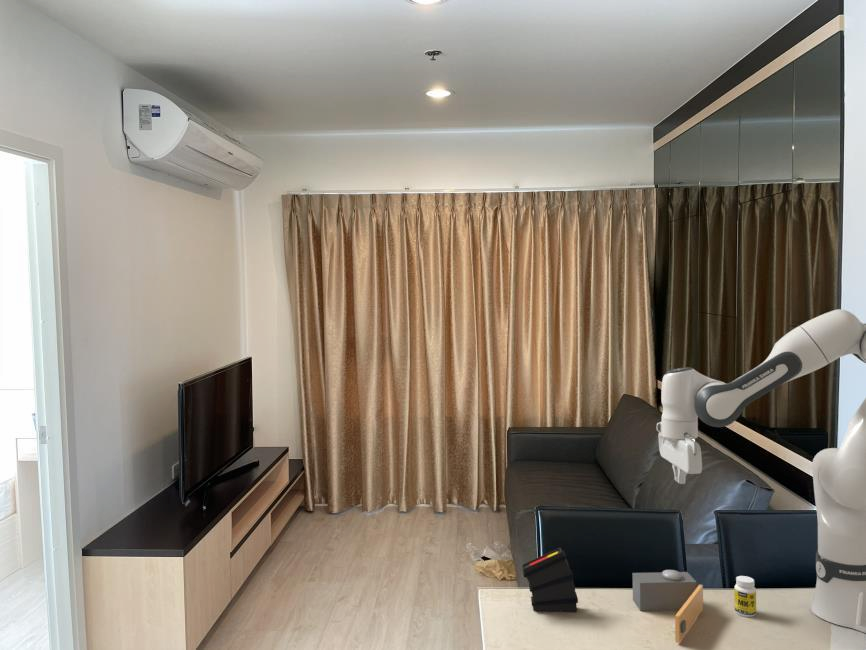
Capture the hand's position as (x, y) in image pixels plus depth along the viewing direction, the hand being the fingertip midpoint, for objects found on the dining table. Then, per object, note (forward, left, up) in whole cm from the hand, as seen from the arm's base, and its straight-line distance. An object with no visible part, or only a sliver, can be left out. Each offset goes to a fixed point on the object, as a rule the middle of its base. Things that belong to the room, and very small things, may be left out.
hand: (680, 482), depth 169 cm
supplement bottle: (-11, +12, -29) cm, 33 cm away
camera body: (+7, +7, -29) cm, 31 cm away
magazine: (+36, +8, -29) cm, 47 cm away
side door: (+5, +18, -29) cm, 34 cm away
